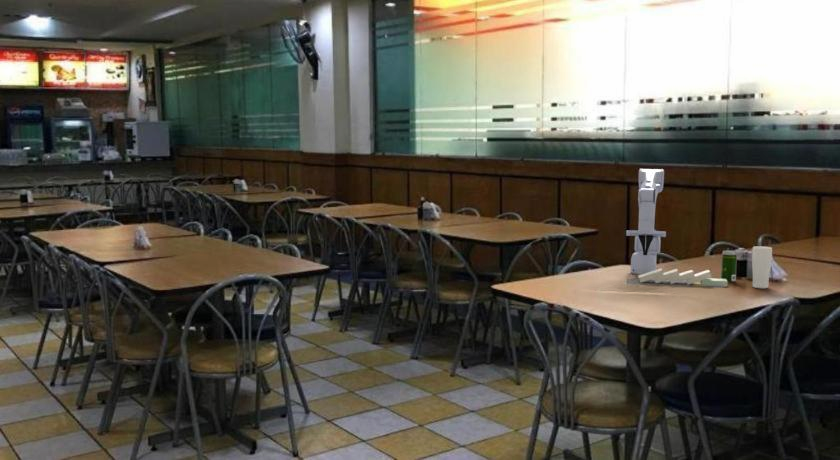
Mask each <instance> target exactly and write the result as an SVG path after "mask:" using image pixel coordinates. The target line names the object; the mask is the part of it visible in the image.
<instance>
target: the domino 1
mask: <svg viewBox="0 0 840 460" xmlns="http://www.w3.org/2000/svg"><path fill="white" fill-rule="evenodd" d="M663 273H664V272H663V269H662V267H660V268H658V269H657V268H656V270H654V271H651V272H648V273H645V274H642V275H641V274H638V276H637V277H638V279H639V280H640V283H641V282H645V281H648V280H654V278H657V277H660V276H663V275H664V274H663Z"/></svg>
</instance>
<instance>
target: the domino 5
mask: <svg viewBox="0 0 840 460" xmlns="http://www.w3.org/2000/svg"><path fill="white" fill-rule="evenodd" d="M699 282H700V284H701V285H703V286H721V287H725V288H726V287H728V281H727V280H726V279H721V278H713V277H710V278H707V279H704V280H701V281H699Z"/></svg>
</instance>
